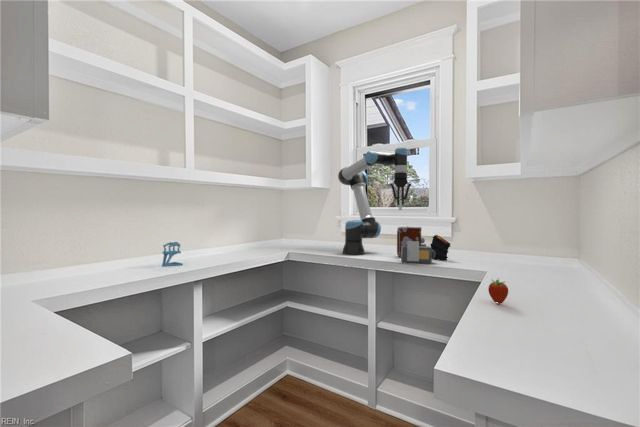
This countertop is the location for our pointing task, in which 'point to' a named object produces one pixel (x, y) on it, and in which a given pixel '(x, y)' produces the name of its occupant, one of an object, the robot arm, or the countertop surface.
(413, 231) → the brown box
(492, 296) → the fruit
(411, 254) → the side door
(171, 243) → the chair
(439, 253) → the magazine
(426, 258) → the block
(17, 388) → the countertop surface
